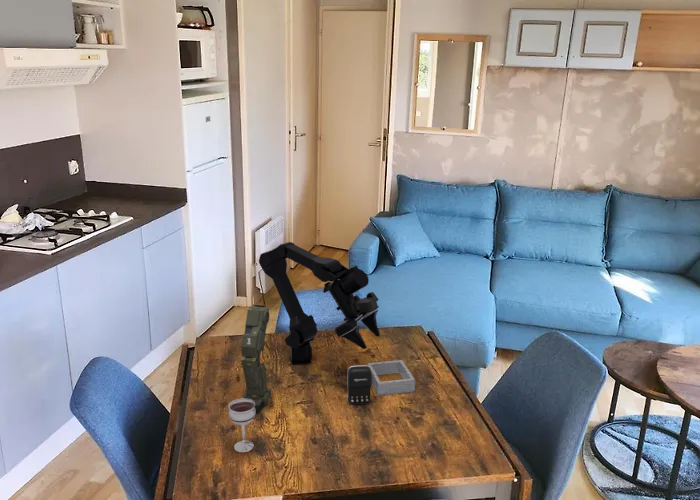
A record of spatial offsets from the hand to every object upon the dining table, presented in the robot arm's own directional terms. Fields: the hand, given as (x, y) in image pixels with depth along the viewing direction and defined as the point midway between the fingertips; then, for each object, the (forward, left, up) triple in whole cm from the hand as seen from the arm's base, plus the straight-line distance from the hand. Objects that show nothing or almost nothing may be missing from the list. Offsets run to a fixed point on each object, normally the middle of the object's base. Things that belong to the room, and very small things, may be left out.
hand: (372, 342), depth 178 cm
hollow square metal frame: (+6, -1, -14) cm, 15 cm away
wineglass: (-40, -24, -14) cm, 49 cm away
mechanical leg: (-35, -3, -14) cm, 38 cm away
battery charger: (-6, -10, -14) cm, 18 cm away
